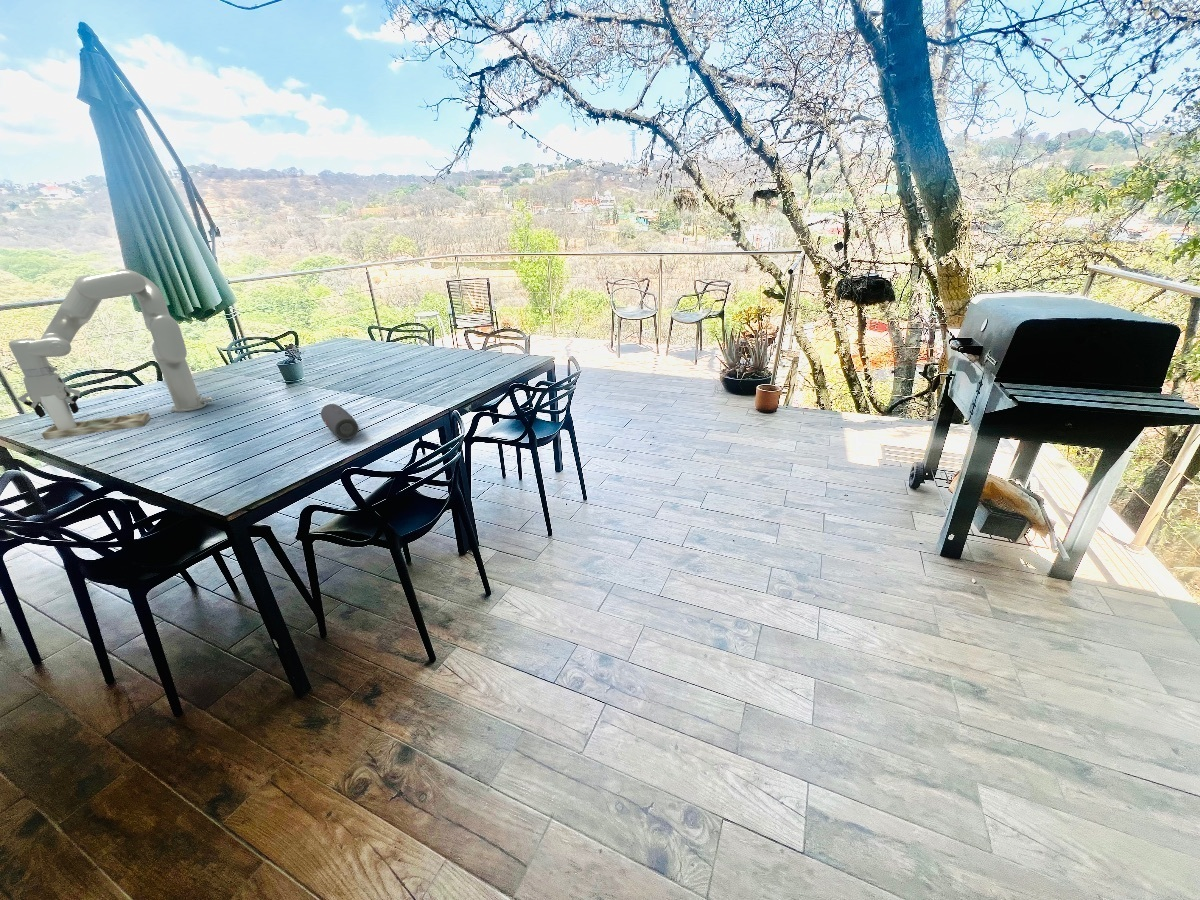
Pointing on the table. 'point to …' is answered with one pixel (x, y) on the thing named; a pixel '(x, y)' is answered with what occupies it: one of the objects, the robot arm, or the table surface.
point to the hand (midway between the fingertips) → (59, 414)
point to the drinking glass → (59, 412)
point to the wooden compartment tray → (99, 425)
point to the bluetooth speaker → (339, 421)
